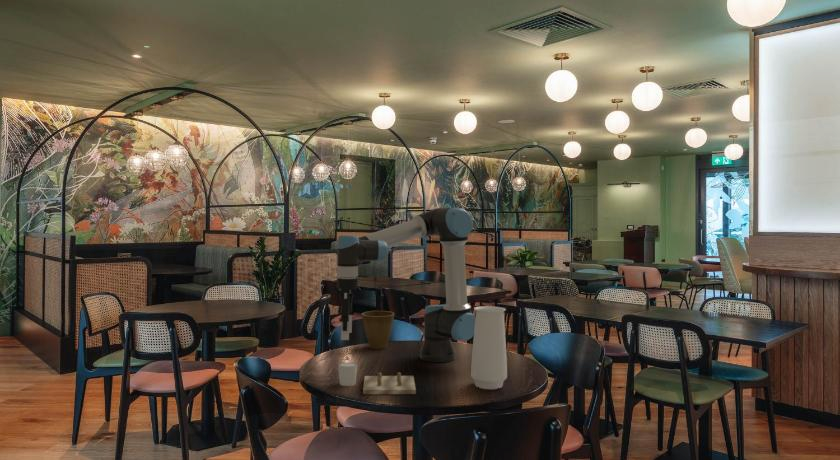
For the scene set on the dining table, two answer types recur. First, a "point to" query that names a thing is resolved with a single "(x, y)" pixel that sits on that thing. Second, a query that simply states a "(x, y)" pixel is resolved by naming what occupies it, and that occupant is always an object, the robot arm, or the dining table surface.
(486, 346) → the vase
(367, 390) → the pin board
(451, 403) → the dining table surface
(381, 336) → the plant pot
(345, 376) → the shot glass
